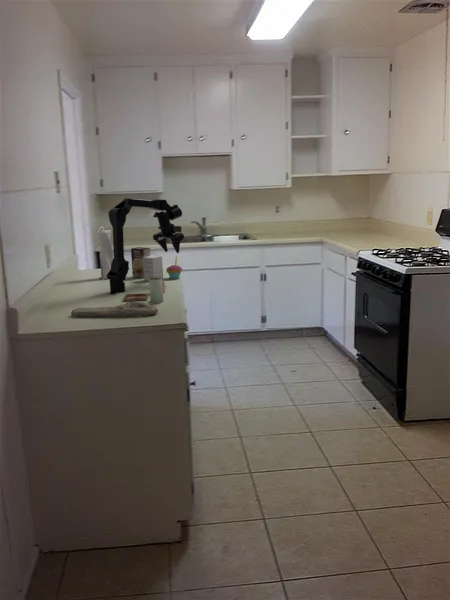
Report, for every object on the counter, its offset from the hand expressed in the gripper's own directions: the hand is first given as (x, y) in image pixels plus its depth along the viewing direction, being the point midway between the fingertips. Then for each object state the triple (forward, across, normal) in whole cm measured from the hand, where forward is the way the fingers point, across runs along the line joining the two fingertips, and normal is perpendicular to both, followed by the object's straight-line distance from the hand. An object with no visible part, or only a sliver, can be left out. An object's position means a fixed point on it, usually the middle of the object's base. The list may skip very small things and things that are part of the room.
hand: (172, 252), depth 293 cm
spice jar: (+6, -32, +39) cm, 51 cm away
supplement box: (+14, +14, +6) cm, 21 cm away
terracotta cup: (+9, -18, +27) cm, 34 cm away
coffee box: (+15, +26, +5) cm, 31 cm away
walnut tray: (+6, -21, +42) cm, 47 cm away
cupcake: (+17, +8, -3) cm, 19 cm away
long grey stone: (+1, -37, +64) cm, 74 cm away
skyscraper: (+11, +40, +18) cm, 45 cm away
